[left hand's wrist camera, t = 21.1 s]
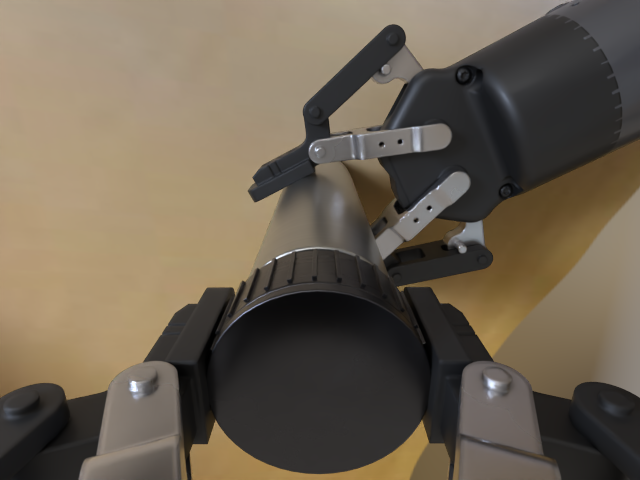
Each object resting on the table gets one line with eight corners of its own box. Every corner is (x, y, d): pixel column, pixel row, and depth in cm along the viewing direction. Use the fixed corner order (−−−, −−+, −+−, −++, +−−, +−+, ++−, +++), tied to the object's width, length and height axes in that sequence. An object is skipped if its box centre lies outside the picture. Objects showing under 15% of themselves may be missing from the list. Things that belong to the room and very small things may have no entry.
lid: (337, 206, 10) (341, 236, 8) (449, 348, 11) (479, 407, 9) (185, 320, 11) (151, 374, 9) (304, 436, 12) (301, 507, 10)
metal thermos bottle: (279, 210, 29) (206, 420, 10) (295, 146, 27) (241, 256, 9) (342, 226, 29) (381, 455, 11) (361, 164, 28) (444, 306, 9)
